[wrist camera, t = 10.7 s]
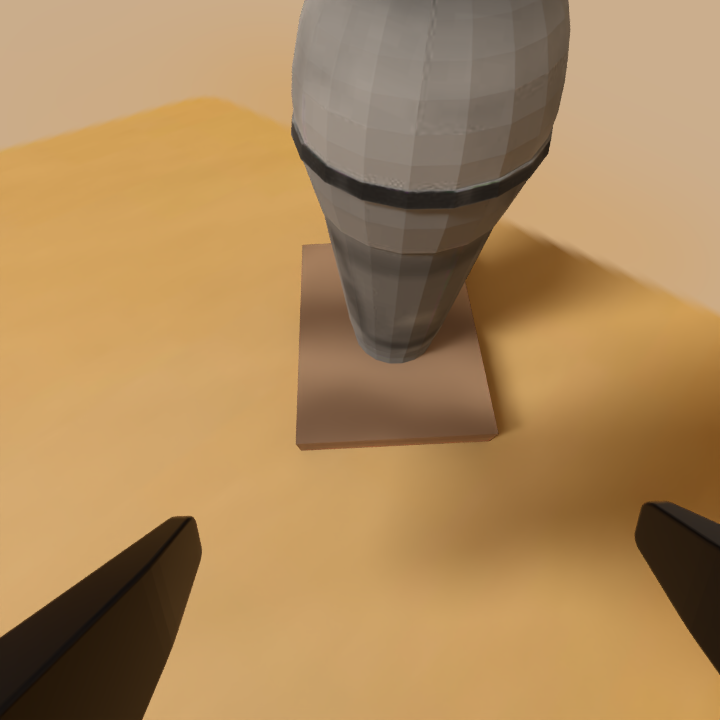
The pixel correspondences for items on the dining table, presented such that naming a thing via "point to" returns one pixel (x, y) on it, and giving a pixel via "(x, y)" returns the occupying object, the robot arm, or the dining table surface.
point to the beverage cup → (420, 143)
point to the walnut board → (383, 376)
